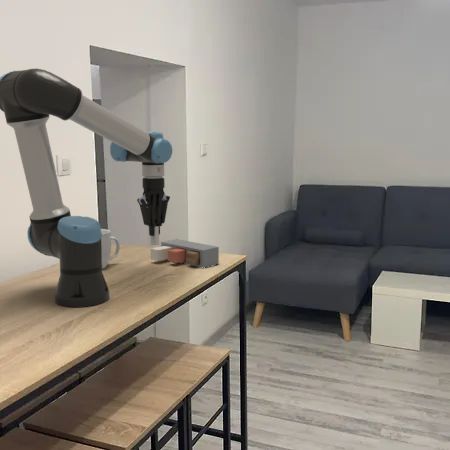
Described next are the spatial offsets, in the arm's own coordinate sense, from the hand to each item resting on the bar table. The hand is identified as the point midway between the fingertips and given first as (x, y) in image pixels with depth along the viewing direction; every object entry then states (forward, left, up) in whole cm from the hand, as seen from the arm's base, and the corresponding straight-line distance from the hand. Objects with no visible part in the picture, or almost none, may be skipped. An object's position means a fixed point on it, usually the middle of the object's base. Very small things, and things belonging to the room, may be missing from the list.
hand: (154, 244), depth 194 cm
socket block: (+16, -1, -9) cm, 18 cm away
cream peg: (+9, +6, -7) cm, 13 cm away
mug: (-12, +16, -9) cm, 22 cm away
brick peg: (+11, -1, -7) cm, 13 cm away
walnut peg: (+14, -8, -7) cm, 18 cm away
